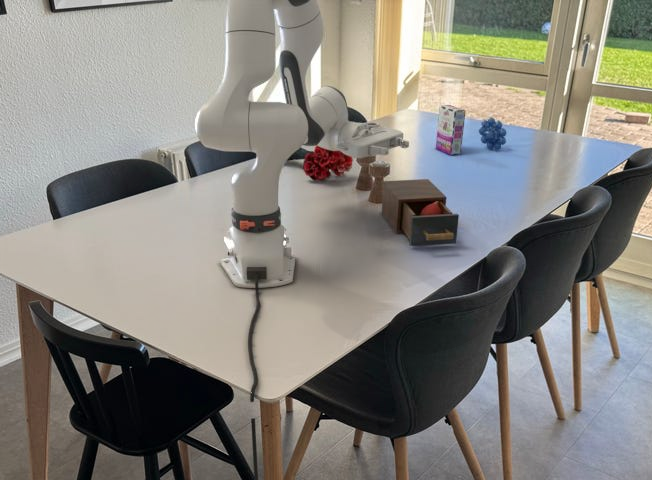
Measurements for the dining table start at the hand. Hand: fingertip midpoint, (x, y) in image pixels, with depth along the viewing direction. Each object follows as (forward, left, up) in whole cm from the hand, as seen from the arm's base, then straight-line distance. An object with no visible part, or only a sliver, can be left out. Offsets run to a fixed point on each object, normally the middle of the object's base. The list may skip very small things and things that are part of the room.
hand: (397, 148), depth 187 cm
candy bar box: (+77, -43, -23) cm, 91 cm away
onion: (-9, -7, -20) cm, 23 cm away
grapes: (+77, -60, -23) cm, 100 cm away
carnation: (+58, +15, -23) cm, 64 cm away
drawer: (-10, -7, -22) cm, 25 cm away
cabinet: (+5, -7, -23) cm, 24 cm away
